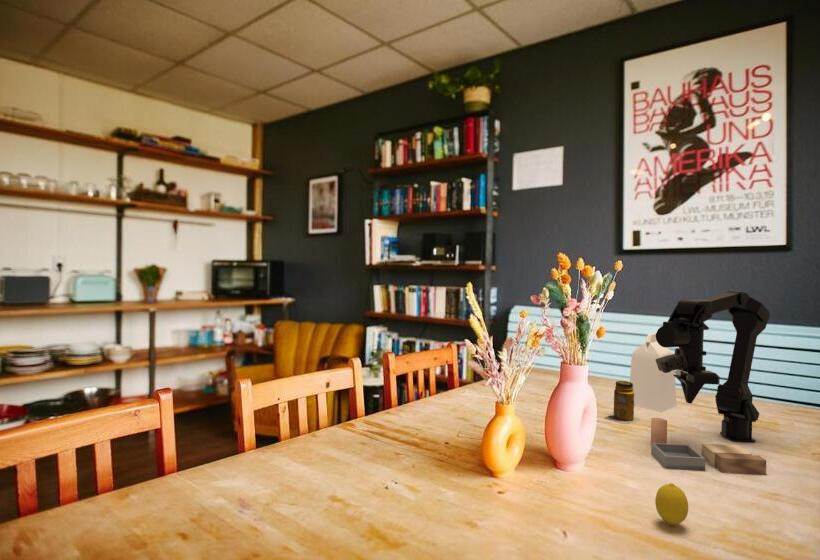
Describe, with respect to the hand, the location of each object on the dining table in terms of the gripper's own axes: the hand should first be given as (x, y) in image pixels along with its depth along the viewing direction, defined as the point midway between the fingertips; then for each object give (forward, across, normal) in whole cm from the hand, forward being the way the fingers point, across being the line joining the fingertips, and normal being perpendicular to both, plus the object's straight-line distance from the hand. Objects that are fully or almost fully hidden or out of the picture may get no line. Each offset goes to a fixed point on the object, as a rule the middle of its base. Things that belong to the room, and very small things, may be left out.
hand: (688, 403), depth 130 cm
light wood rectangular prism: (+13, +9, +5) cm, 17 cm away
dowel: (+13, -2, -7) cm, 15 cm away
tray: (+13, +10, -7) cm, 18 cm away
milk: (+12, -42, +7) cm, 45 cm away
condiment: (+13, -25, -9) cm, 29 cm away
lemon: (+14, +42, -22) cm, 49 cm away
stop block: (+13, +14, +6) cm, 20 cm away
